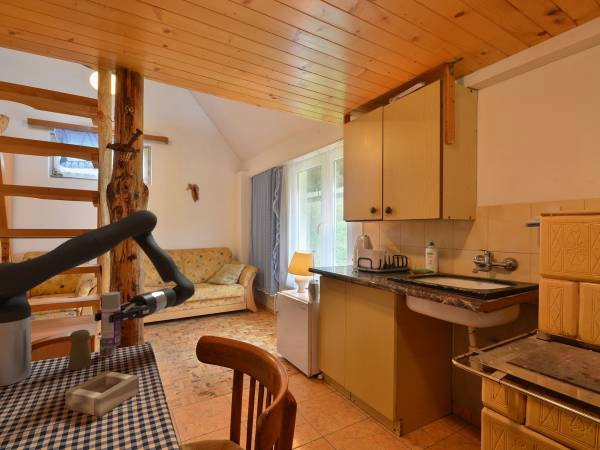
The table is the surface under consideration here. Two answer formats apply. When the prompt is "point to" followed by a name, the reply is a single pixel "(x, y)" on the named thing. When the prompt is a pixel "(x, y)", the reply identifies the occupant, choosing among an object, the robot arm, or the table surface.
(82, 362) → the olive pepper mill
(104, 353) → the pill bottle
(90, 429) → the table surface
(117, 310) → the container
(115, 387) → the square holder
